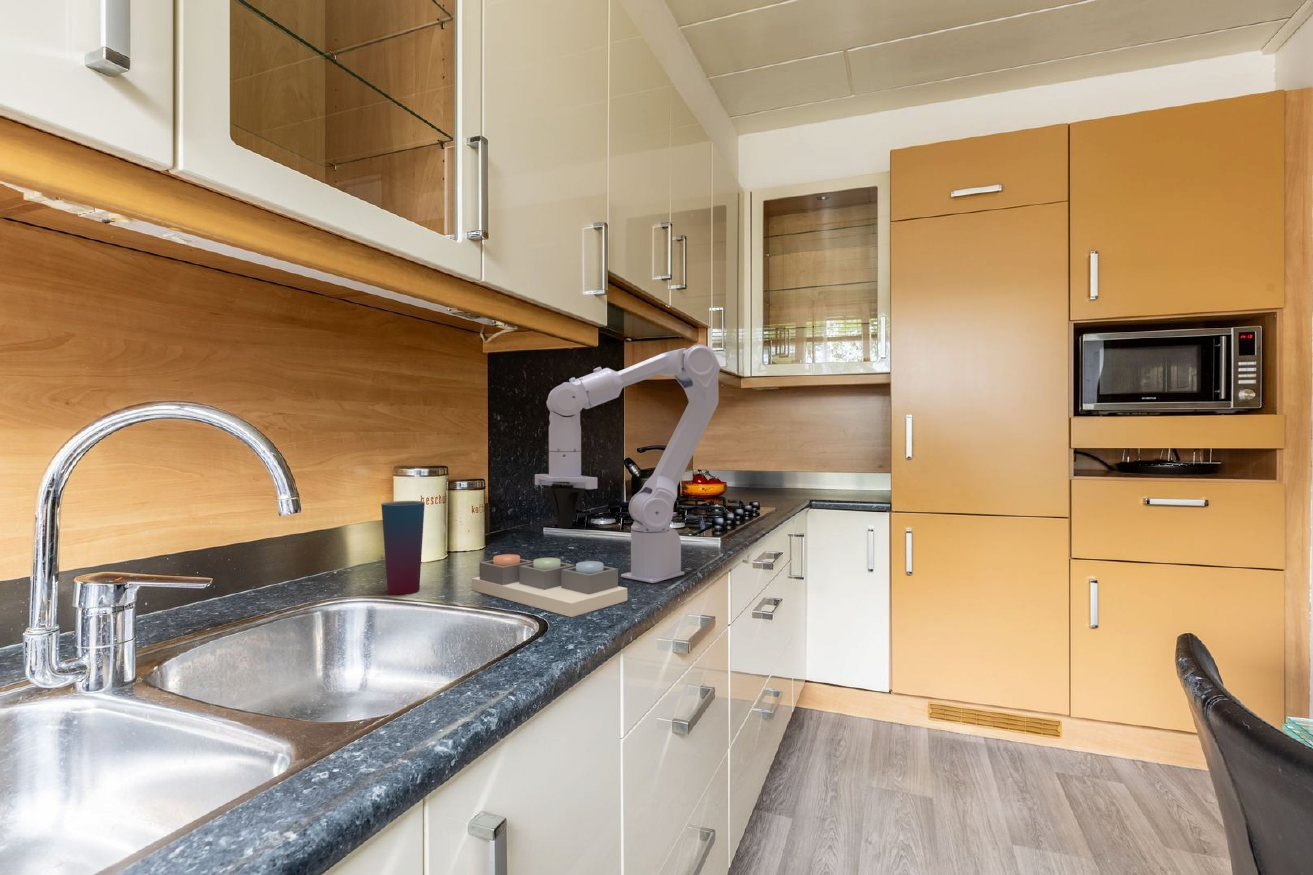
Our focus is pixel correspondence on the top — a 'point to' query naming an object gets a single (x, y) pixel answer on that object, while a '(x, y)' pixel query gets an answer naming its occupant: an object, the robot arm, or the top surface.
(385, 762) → the top surface
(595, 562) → the button blue
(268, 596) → the top surface
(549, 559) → the button green
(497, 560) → the button terracotta
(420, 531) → the cup
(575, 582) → the panel
